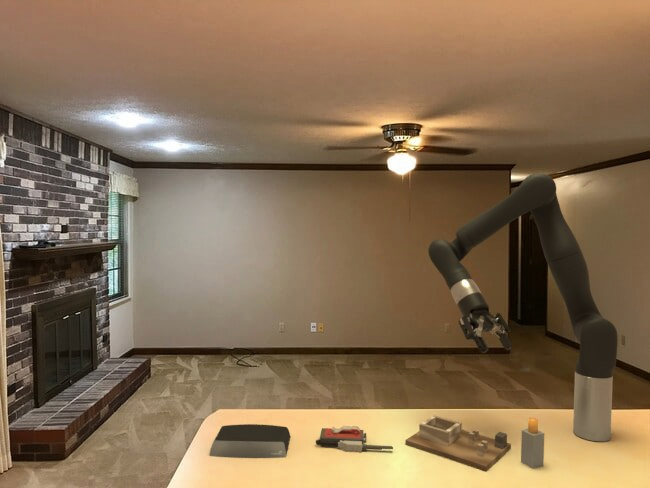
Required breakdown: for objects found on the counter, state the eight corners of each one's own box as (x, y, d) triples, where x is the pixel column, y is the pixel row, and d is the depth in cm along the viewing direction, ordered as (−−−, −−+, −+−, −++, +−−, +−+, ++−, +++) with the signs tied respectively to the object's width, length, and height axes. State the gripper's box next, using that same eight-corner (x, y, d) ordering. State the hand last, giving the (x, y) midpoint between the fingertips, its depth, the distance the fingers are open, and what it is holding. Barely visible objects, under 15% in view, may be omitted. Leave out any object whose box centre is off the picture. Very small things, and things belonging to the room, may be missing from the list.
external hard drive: (285, 460, 126) (286, 444, 126) (208, 459, 126) (208, 442, 126) (291, 438, 139) (291, 423, 139) (220, 436, 139) (220, 421, 139)
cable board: (434, 425, 147) (434, 409, 146) (510, 448, 132) (511, 430, 132) (405, 444, 134) (405, 426, 134) (486, 471, 120) (486, 451, 120)
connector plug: (531, 459, 126) (532, 415, 126) (543, 465, 123) (544, 421, 123) (520, 462, 125) (522, 418, 124) (532, 468, 122) (533, 423, 121)
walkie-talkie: (314, 451, 131) (393, 455, 129) (314, 434, 130) (393, 438, 129) (317, 437, 139) (391, 440, 138) (318, 421, 139) (391, 424, 137)
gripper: (457, 292, 137) (486, 345, 128) (495, 290, 143) (525, 340, 134) (442, 307, 142) (469, 360, 133) (480, 305, 148) (508, 354, 139)
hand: (497, 350), depth 133 cm, fingers open, 8 cm apart
